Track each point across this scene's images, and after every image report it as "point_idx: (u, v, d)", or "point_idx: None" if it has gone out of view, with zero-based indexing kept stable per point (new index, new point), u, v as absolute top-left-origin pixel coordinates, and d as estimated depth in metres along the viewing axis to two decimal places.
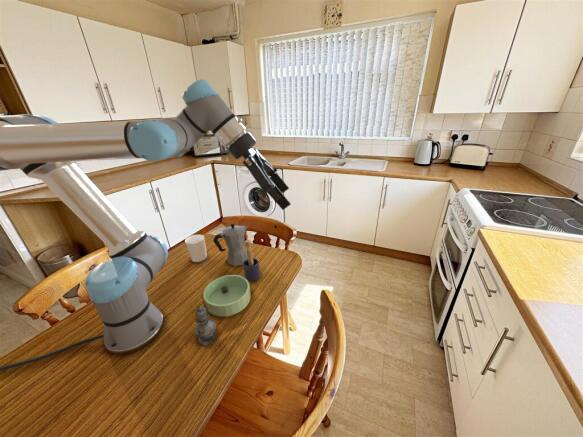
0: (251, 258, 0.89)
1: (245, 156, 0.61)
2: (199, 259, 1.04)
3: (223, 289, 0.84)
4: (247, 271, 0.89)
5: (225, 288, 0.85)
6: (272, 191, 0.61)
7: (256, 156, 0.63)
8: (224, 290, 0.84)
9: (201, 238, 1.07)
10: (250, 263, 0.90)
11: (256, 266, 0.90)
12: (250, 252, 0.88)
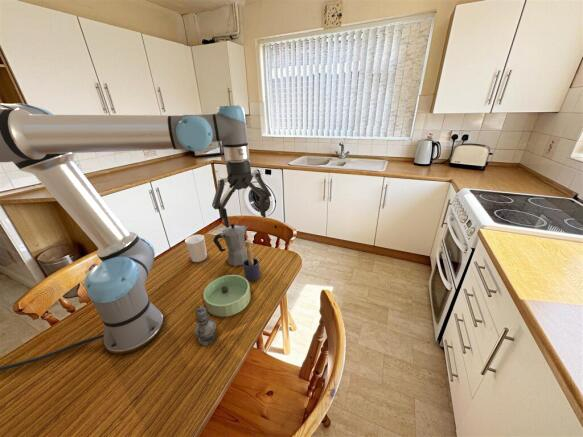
0: (251, 258, 0.89)
1: None
2: (199, 259, 1.04)
3: (223, 289, 0.84)
4: (247, 271, 0.89)
5: (225, 288, 0.85)
6: (219, 210, 0.77)
7: (235, 182, 0.75)
8: (224, 290, 0.84)
9: (201, 238, 1.07)
10: (250, 263, 0.90)
11: (256, 266, 0.90)
12: (250, 252, 0.88)
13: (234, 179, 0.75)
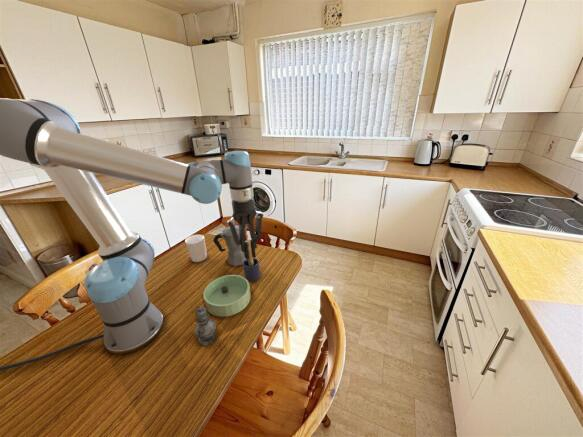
0: (251, 258, 0.89)
1: (233, 213, 0.80)
2: (199, 259, 1.04)
3: (223, 289, 0.84)
4: (247, 271, 0.89)
5: (225, 288, 0.85)
6: (241, 245, 0.86)
7: (241, 220, 0.81)
8: (224, 290, 0.84)
9: (201, 238, 1.07)
10: (250, 263, 0.90)
11: (256, 266, 0.90)
12: (250, 252, 0.88)
13: (238, 215, 0.80)
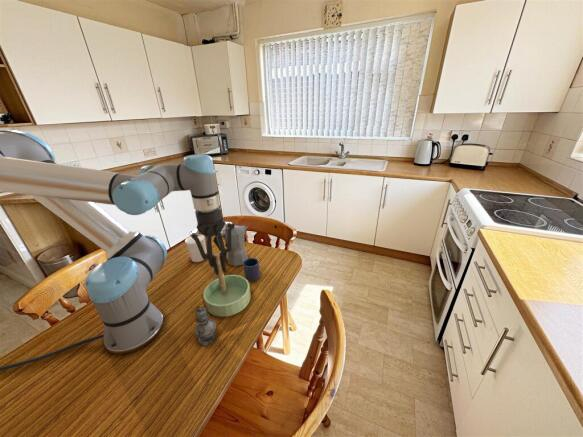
0: (221, 273, 0.81)
1: (197, 224, 0.72)
2: (199, 259, 1.04)
3: None
4: (247, 271, 0.89)
5: None
6: (208, 259, 0.77)
7: (206, 231, 0.72)
8: None
9: (201, 238, 1.07)
10: (220, 278, 0.81)
11: (256, 266, 0.90)
12: (219, 266, 0.79)
13: (203, 226, 0.71)
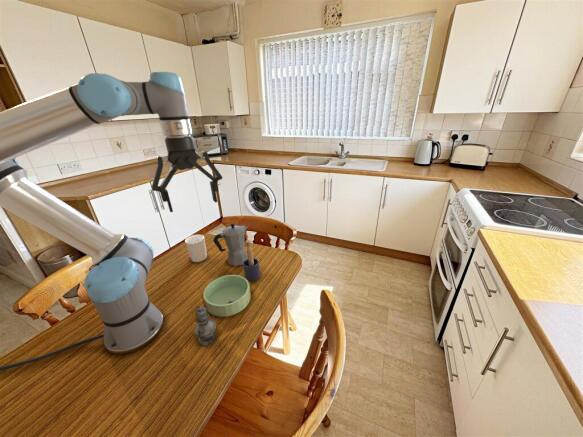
0: (251, 258, 0.89)
1: (168, 153, 0.68)
2: (199, 259, 1.04)
3: None
4: (247, 271, 0.89)
5: None
6: (160, 192, 0.70)
7: (177, 160, 0.68)
8: None
9: (201, 238, 1.07)
10: (250, 263, 0.90)
11: (256, 266, 0.90)
12: (250, 252, 0.88)
13: (175, 158, 0.68)
